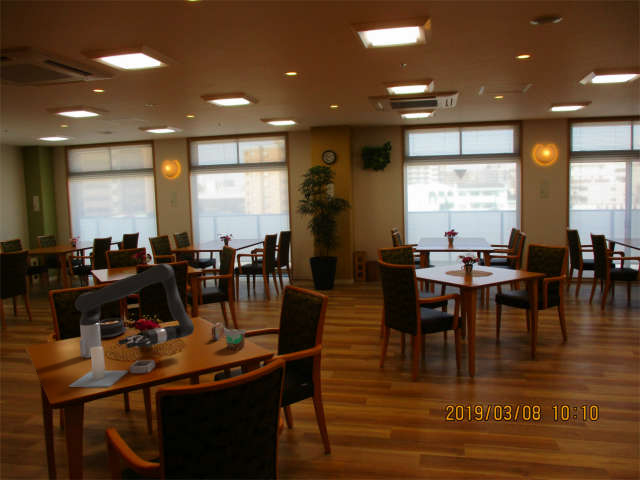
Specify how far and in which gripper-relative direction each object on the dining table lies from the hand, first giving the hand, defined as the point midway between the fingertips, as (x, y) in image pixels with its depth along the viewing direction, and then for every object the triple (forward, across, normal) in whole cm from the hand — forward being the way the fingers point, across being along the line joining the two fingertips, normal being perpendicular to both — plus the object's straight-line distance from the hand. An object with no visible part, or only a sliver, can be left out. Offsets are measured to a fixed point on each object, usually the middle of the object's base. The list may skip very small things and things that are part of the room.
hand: (122, 344), depth 232 cm
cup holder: (-7, +4, +13) cm, 16 cm away
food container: (-54, +12, +13) cm, 57 cm away
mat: (+12, 0, +14) cm, 18 cm away
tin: (-61, -11, +13) cm, 63 cm away
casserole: (-25, -72, +14) cm, 78 cm away
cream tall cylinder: (+12, 0, +13) cm, 17 cm away
